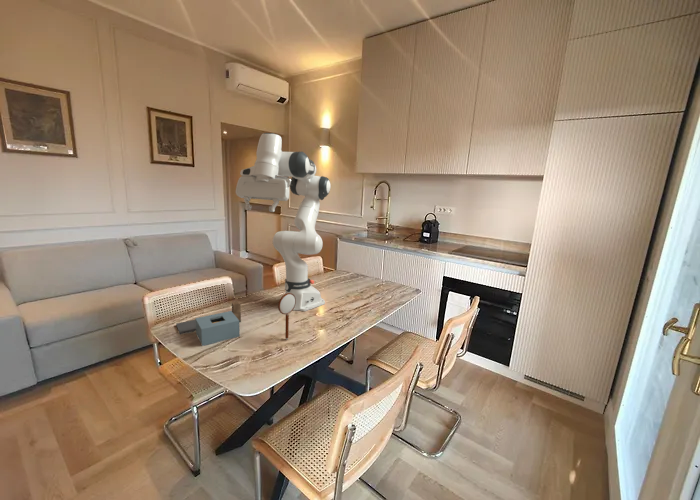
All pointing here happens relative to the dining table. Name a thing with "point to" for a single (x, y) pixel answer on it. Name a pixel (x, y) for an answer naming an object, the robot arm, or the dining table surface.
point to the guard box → (217, 327)
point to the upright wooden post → (236, 310)
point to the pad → (186, 326)
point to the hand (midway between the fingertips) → (259, 210)
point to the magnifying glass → (287, 308)
